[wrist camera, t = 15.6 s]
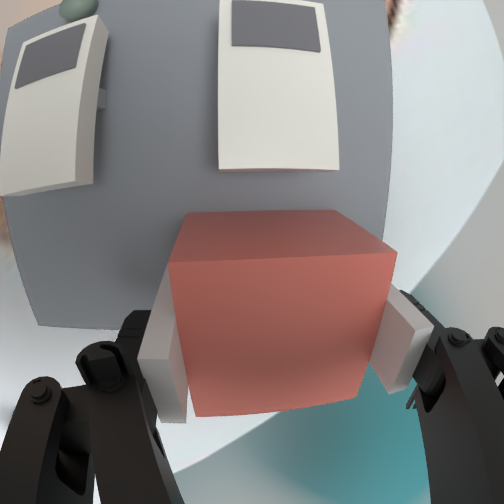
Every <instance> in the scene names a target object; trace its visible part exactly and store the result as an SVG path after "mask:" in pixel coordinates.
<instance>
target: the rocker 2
mask: <svg viewBox="0 0 504 504" xmlns="http://www.w3.org/2000/svg"><path fill="white" fill-rule="evenodd" d="M218 161H219V173H222V172H321V173H324V172H330V171H337V170H339V144H338V125H337V110H336V97H335V86H334V76H333V67H332V59H331V51H330V44H329V37H328V30H327V24H326V18H325V12H324V6H323V4H321V3H315V2H309V1H303V0H220V4H219V37H218Z"/></svg>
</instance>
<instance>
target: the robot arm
mask: <svg viewBox="0 0 504 504" xmlns="http://www.w3.org/2000/svg"><path fill="white" fill-rule="evenodd" d="M171 253H172V252H171ZM75 363H76V365H77V367H78V369H79V371H80V373H81V375H82V377H83V379H84V381H85V383H86V385H82V386H76V387H69V388H62V387H61V386H60V384H59V382H57V381H56V380H55V379H54V378H51V377H48V376H46V377H38V378H36V379H33V380H32V381H30V382H29V383H28V384H27V385H26V386H25V388H24V389H23V391H22V393H21V395H20V398H19V400H18V403H17V405H16V408H15V410H14V413H13V415H12V418H11V421H10V424H9V426H8V429H7V432H6V435H5V438H4V441H3V444H2V448H1V451H0V504H93V492H94V479H95V475H96V481H97V486H98V491H99V496H100V501H101V504H185V503H184V501H183V498H182V496H181V494H180V491H179V489H178V486H177V484H176V481H175V479H174V476H173V473H172V470H171V468H170V465H169V462H168V459H167V456H166V453H165V450H164V447H163V444H162V441H161V438H160V435H159V432H158V430H157V428H156V419H157V414H158V417H159V419H160V421H161V423H186V413H187V394H188V379H187V375H186V370H185V365H184V360H183V355H182V350H181V345H180V340H179V334H178V329H177V323H176V317H175V311H174V304H173V298H172V291H171V283H170V276H169V268H168V264H167V266H166V269H165V272H164V275H163V278H162V281H161V284H160V287H159V290H158V293H157V296H156V299H155V302H154V305H153V308H152V310H133V311H132V312H131V313H130V314H129V315H128V316H127V317H126V318H125V319H124V322H123V324H122V327H121V330H120V331H119V334H118V338H117V339H116V341H115V342H112V341H100V342H96V343H93V344H90V345H89V346H87V347H86V348H84V349H83V350H82V351H81V352H80V353H79V354H78V356H77V359H76V362H75ZM369 363H370V364H371V366H372V368H373V369H374V371H375V372H376V374H377V376H378V377H379V379H380V381H381V382H382V384H383V386H384V387H385V389H386V391H387V392H388V394H392V393H395V392H398V391H401V390H404V389H407V387H408V385H409V382H410V381H411V379H412V377H413V378H414V379H415V381H416V382H417V386H416V387H415V390H414V391H413V393H412V395H411V397H410V399H409V400H408V402H407V404H406V409H409V408H410V406H411V404H412V403H413V401H414V399H415V404H414V406H413V409H415V408H417V412H418V416H419V421H420V426H421V431H422V437H423V442H424V448H425V455H426V462H427V468H428V477H429V486H430V497H431V504H504V378H503V380H502V381H501V383H500V384H499V386H498V387H497V385H496V383H495V380H496V378H497V376H498V375H499V373H500V372H502V373H503V375H504V328H501V327H492V328H490V329H489V330H488V332H487V334H486V336H485V339H475V340H473V339H472V338H471V336H470V335H469V334H468V333H466V332H465V331H463V330H461V329H458V328H451V327H450V328H445V327H443V325H442V324H441V323H439V321H437V319H436V318H435V317H434V316H432V314H430V313H429V311H427V310H425V308H424V307H423V306H422V305H421V304H419V302H418V301H417V300H416V299H415V298H414V297H413V296H412V295H410V294H408V293H406V292H404V291H403V290H398V289H397V288H396V287H395V286H394V285H392V284H391V285H390V290H389V294H388V298H387V301H386V305H385V309H384V313H383V316H382V320H381V324H380V327H379V331H378V334H377V338H376V341H375V344H374V348H373V351H372V354H371V357H370V360H369Z"/></svg>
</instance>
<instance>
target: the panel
mask: <svg viewBox="0 0 504 504" xmlns="http://www.w3.org/2000/svg"><path fill="white" fill-rule="evenodd" d="M303 1H309V2H315V3H321V4H323V6H324V12H325V18H326V24H327V30H328V37H329V44H330V51H331V59H332V67H333V76H334V86H335V97H336V110H337V125H338V144H339V170H337V171H330V172H324V173H321V172H222V173H219V161H218V37H219V4H220V0H63V1H62V3H61V4H59V5H56V6H53V7H51V8H49V9H46V10H44V11H42V12H39V13H37V14H35V15H33V16H31V17H29V18H27V19H25V20H23V21H21V22H19V23H17V24H15V25H14V26H12V27H10V28H8V31H7V36H6V41H5V46H4V52H3V58H2V65H1V73H0V152H1V142H2V133H3V126H4V119H5V113H6V107H7V102H8V97H9V92H10V87H11V83H12V79H13V75H14V71H15V67H16V64H17V60H18V57H19V54H20V51H21V48H22V45H23V42H25V41H27V40H30V39H32V38H34V37H36V36H39V35H41V34H43V33H46V32H48V31H51V30H53V29H56V28H58V27H61V26H64V25H66V24H69V23H72V22H75V21H78V20H81V19H84V18H88V17H91V16H94V15H99V17H100V18H101V20H102V21H103V23H104V25H105V26H106V28H107V29H108V31H109V35H108V39H107V44H106V49H105V54H104V59H103V65H102V71H101V77H100V84H99V92H98V100H97V110H96V121H95V135H94V158H93V184H88V185H81V186H74V187H68V188H62V189H56V190H50V191H44V192H39V193H33V194H28V195H23V196H3V202H4V208H5V214H6V219H7V224H8V229H9V234H10V238H11V242H12V246H13V250H14V254H15V258H16V262H17V265H18V269H19V272H20V275H21V278H22V282H23V285H24V288H25V291H26V294H27V296H28V299H29V302H30V305H31V307H32V310H33V313H34V315H35V318H36V320H37V323H38V325H40V326H52V327H66V328H84V329H111V330H121V327H122V324H123V322H124V319H125V318H126V317H127V316H128V315H129V314H130V313H131V312H132V311H133V310H152V308H153V305H154V302H155V299H156V296H157V293H158V290H159V287H160V284H161V281H162V278H163V275H164V272H165V269H166V266H167V264H168V261H169V258H170V255H171V252H172V250H173V247H174V245H175V242H176V239H177V237H178V234H179V231H180V229H181V226H182V224H183V221H184V219H185V216H186V214H187V213H201V212H227V211H263V210H336V211H338V212H339V213H341V214H342V215H344V216H345V217H347V218H349V219H350V220H352V221H353V222H355V223H356V224H358V225H359V226H361V227H362V228H364V229H365V230H367V231H368V232H369V233H371V234H372V235H374V236H375V237H377V238H378V239H380V240H381V241H382V239H383V232H384V225H385V218H386V210H387V201H388V192H389V182H390V169H391V154H392V131H393V87H392V65H391V51H390V39H389V30H388V22H387V14H386V7H385V1H384V0H303Z"/></svg>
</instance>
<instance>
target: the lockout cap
mask: <svg viewBox="0 0 504 504" xmlns="http://www.w3.org/2000/svg"><path fill="white" fill-rule="evenodd" d="M396 257H397V251H395V250H394V249H392V248H391V247H390V246H388V245H387V244H385V243H384V242H382V241H381V240H380V239H378V238H377V237H375V236H374V235H372V234H371V233H369V232H368V231H367V230H365V229H364V228H362V227H361V226H359V225H358V224H356V223H355V222H353V221H352V220H350V219H349V218H347V217H345V216H344V215H342V214H341V213H339V212H338V211H336V210H263V211H227V212H201V213H187V214H186V216H185V219H184V221H183V224H182V226H181V229H180V231H179V234H178V237H177V239H176V242H175V245H174V247H173V250H172V253H171V255H170V258H169V261H168V268H169V276H170V283H171V291H172V298H173V304H174V311H175V317H176V323H177V329H178V334H179V340H180V345H181V350H182V355H183V360H184V365H185V370H186V375H187V379H188V385H189V390H190V394H191V399H192V403H193V407H194V411H195V415H196V417H211V416H233V415H247V414H259V413H268V412H277V411H285V410H292V409H299V408H305V407H311V406H317V405H322V404H328V403H333V402H337V401H342V400H347V399H351V398H355V397H356V396H357V393H358V391H359V388H360V385H361V383H362V380H363V377H364V374H365V371H366V369H367V366H368V363H369V360H370V357H371V354H372V351H373V348H374V344H375V341H376V338H377V334H378V331H379V327H380V324H381V320H382V316H383V313H384V309H385V305H386V301H387V298H388V294H389V290H390V285H391V281H392V276H393V272H394V267H395V262H396Z"/></svg>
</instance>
